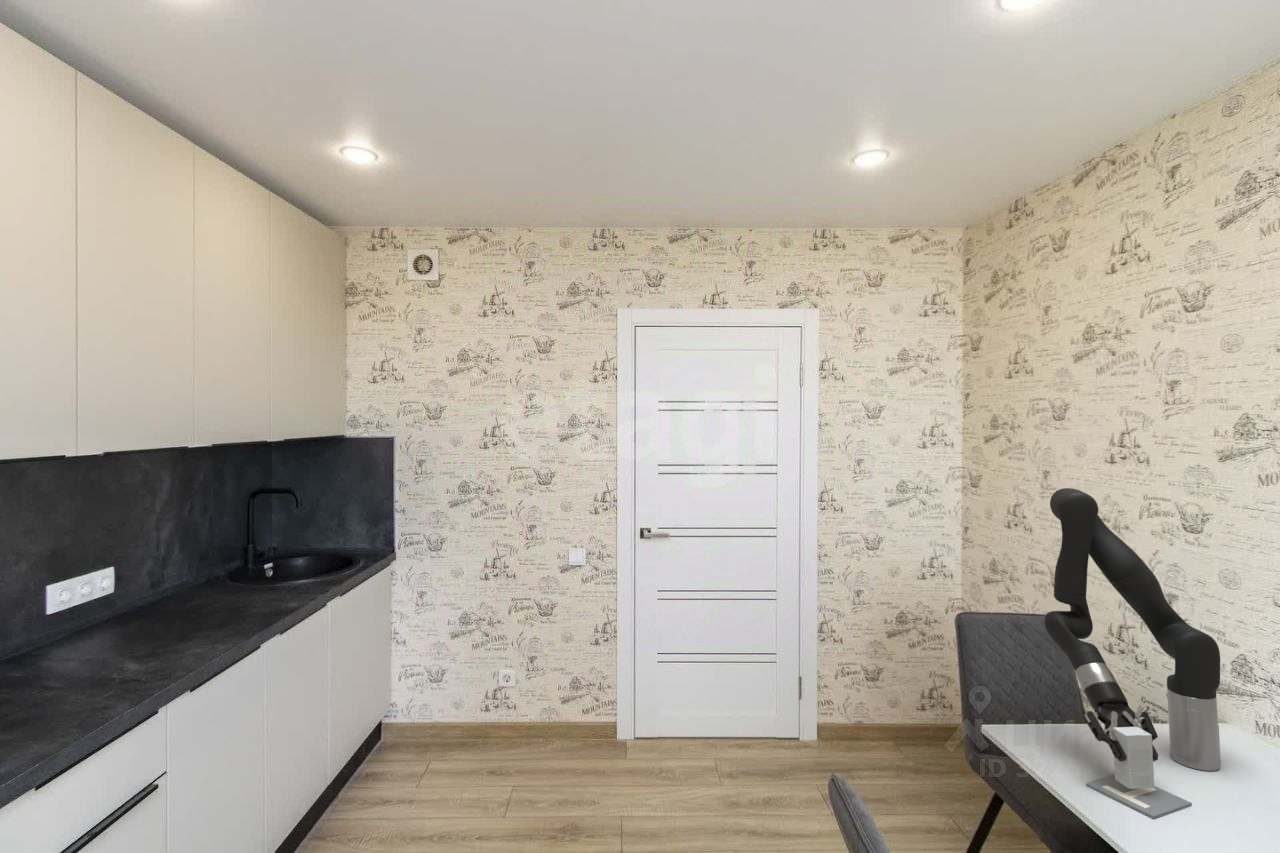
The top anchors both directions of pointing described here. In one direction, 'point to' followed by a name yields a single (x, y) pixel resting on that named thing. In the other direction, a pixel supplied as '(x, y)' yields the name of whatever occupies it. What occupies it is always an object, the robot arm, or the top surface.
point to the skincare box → (1134, 758)
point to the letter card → (1140, 797)
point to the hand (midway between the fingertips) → (1138, 760)
